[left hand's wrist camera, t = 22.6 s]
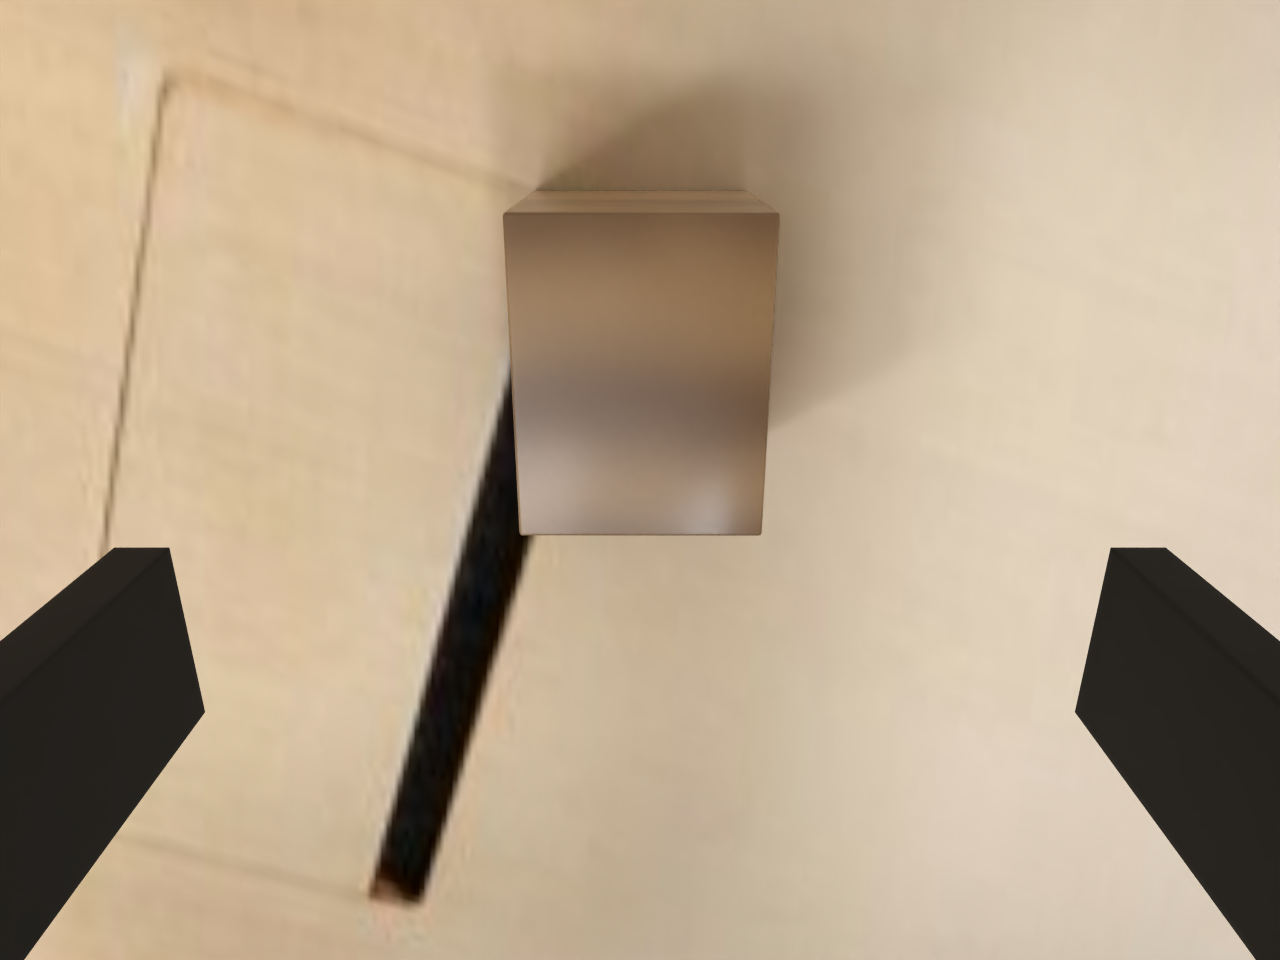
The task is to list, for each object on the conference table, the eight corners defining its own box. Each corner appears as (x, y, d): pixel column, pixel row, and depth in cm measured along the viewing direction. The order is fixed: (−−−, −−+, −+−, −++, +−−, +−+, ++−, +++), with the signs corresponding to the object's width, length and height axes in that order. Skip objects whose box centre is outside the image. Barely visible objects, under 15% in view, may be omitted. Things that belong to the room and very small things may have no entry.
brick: (533, 190, 30) (502, 212, 23) (747, 190, 30) (780, 213, 23) (544, 449, 33) (519, 536, 26) (736, 449, 33) (761, 536, 26)
